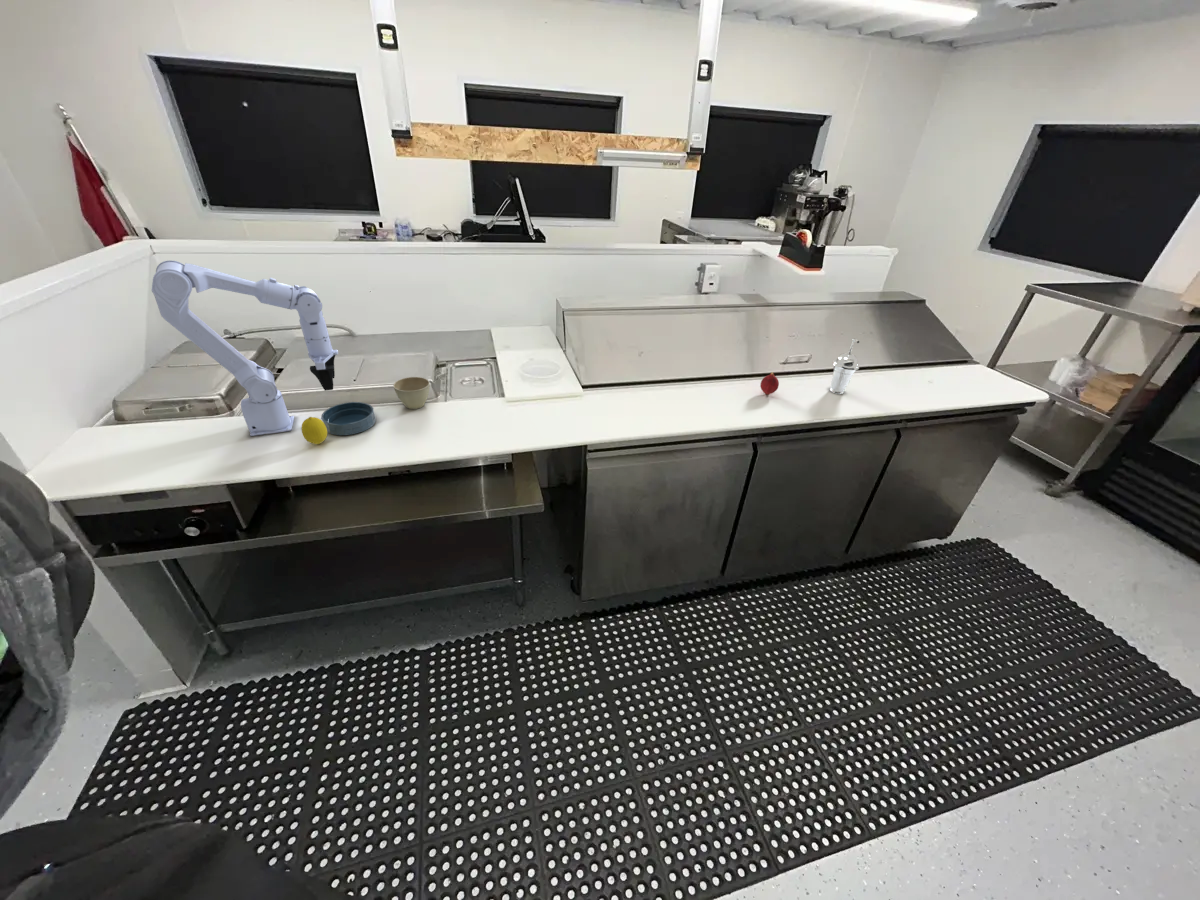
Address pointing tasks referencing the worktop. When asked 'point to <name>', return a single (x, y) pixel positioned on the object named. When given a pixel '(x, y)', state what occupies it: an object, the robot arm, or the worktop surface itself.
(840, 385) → the cup with straw
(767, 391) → the onion
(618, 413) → the worktop surface
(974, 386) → the worktop surface
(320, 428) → the lemon
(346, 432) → the bowl
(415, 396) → the flower pot
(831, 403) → the worktop surface
